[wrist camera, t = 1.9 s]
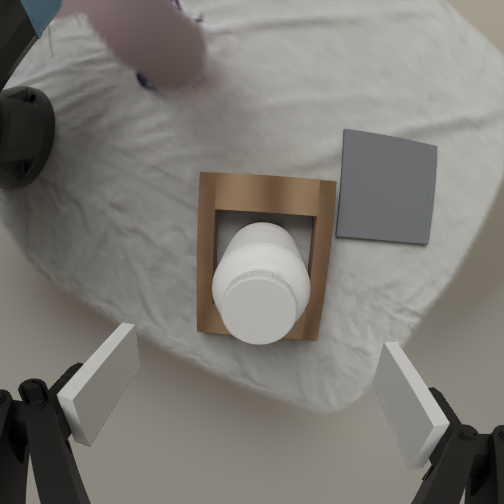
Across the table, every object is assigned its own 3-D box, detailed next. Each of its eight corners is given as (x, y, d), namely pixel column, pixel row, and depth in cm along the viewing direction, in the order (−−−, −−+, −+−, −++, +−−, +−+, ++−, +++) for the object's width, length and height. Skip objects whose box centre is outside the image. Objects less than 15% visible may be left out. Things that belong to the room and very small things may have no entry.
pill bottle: (239, 296, 37) (222, 369, 22) (219, 231, 35) (185, 271, 20) (305, 279, 36) (327, 346, 21) (288, 212, 34) (303, 240, 20)
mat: (335, 235, 34) (336, 236, 34) (343, 129, 31) (344, 128, 31) (426, 243, 34) (427, 244, 33) (435, 146, 31) (437, 146, 31)
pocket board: (201, 322, 38) (197, 331, 35) (204, 172, 33) (200, 172, 31) (314, 330, 37) (317, 340, 35) (331, 181, 33) (336, 181, 31)
